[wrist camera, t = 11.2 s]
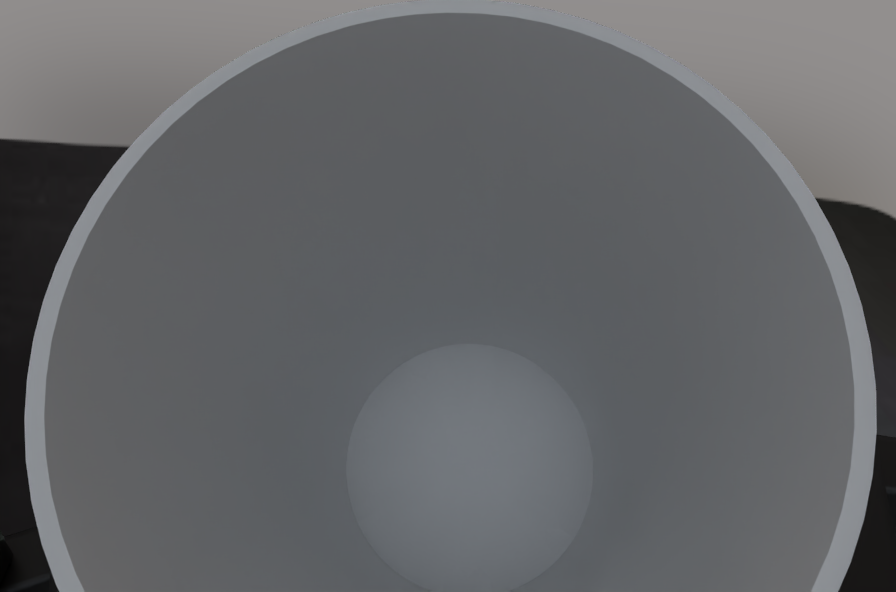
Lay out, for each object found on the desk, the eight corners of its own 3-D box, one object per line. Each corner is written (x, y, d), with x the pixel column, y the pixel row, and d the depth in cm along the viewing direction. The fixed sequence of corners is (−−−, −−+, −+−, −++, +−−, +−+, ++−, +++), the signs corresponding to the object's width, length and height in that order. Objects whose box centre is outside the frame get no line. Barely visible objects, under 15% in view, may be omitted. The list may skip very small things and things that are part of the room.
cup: (309, 570, 21) (-132, 703, 6) (375, 317, 24) (181, -51, 8) (576, 635, 20) (865, 991, 5) (617, 366, 23) (896, 53, 7)
